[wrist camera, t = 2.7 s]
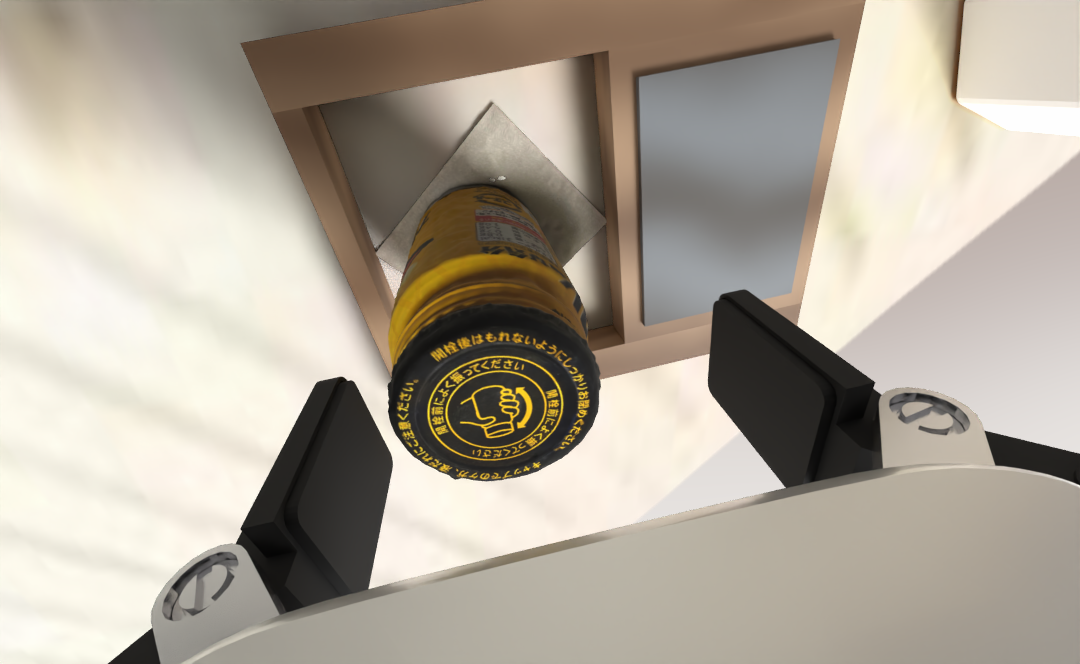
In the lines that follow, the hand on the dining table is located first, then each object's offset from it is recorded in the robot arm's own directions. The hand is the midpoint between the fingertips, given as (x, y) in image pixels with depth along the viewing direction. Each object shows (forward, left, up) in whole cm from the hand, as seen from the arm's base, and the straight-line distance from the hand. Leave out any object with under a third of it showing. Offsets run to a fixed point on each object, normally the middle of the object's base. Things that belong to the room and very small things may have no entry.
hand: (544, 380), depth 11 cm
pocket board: (0, +4, -11) cm, 12 cm away
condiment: (0, 0, -11) cm, 11 cm away
